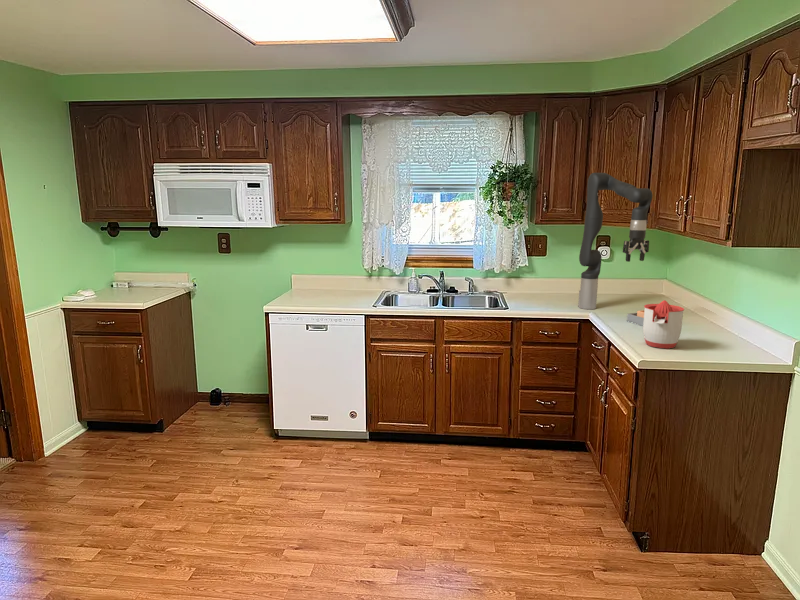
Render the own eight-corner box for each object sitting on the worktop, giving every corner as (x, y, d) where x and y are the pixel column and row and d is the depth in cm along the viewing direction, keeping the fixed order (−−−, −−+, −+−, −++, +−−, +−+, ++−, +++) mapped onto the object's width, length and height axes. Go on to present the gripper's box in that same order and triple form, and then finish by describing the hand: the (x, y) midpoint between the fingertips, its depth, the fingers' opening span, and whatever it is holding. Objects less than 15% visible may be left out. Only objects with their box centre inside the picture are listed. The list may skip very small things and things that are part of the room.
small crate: (636, 320, 287) (637, 310, 286) (645, 319, 289) (645, 310, 288) (648, 323, 280) (649, 314, 279) (656, 322, 281) (657, 313, 280)
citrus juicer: (636, 347, 240) (640, 301, 236) (644, 338, 254) (648, 295, 250) (676, 353, 231) (681, 306, 227) (682, 344, 245) (687, 299, 241)
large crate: (626, 321, 288) (627, 313, 287) (648, 319, 292) (649, 311, 291) (644, 326, 276) (644, 318, 276) (666, 324, 281) (667, 316, 280)
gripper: (643, 228, 286) (640, 259, 289) (621, 228, 281) (618, 260, 284) (654, 229, 279) (651, 261, 282) (631, 229, 274) (628, 262, 277)
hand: (634, 261), depth 283 cm, fingers open, 8 cm apart
